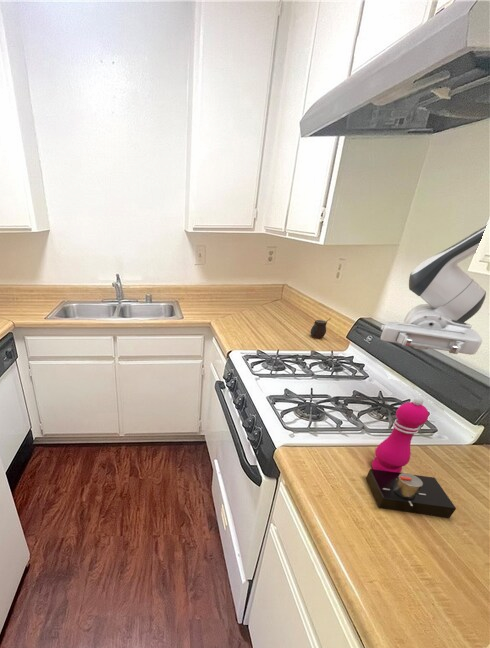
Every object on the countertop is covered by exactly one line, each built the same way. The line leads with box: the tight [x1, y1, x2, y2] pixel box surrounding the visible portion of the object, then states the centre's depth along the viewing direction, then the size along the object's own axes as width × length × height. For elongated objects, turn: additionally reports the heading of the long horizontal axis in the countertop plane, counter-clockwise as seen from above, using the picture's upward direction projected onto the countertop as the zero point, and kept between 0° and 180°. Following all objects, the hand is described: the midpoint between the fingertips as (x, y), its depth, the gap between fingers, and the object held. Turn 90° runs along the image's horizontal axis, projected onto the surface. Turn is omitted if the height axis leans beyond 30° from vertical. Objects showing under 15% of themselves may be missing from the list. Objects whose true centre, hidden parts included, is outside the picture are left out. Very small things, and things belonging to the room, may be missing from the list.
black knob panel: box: [365, 468, 457, 519], centre depth 77 cm, size 14×11×3 cm
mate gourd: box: [310, 317, 331, 339], centre depth 171 cm, size 7×8×10 cm
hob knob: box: [393, 472, 423, 499], centre depth 74 cm, size 4×4×4 cm
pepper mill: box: [371, 397, 430, 473], centre depth 81 cm, size 7×7×20 cm
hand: (430, 346), depth 80 cm, fingers open, 8 cm apart
